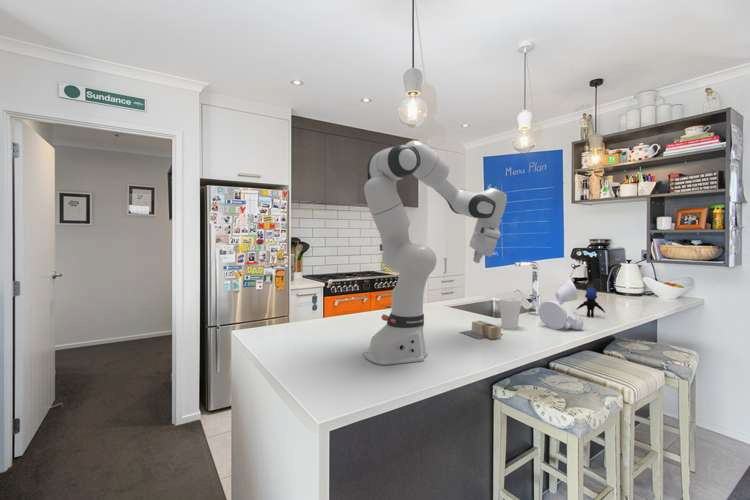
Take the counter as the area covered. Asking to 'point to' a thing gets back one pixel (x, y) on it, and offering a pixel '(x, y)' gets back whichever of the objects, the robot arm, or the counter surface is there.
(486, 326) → the block
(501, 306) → the foam cup
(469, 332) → the mat
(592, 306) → the toy
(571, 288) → the light fixture
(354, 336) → the counter surface
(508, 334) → the counter surface
